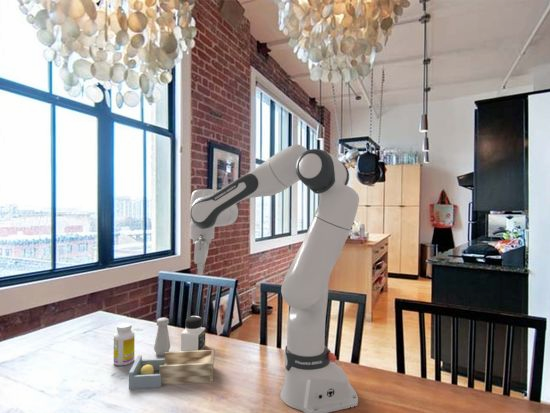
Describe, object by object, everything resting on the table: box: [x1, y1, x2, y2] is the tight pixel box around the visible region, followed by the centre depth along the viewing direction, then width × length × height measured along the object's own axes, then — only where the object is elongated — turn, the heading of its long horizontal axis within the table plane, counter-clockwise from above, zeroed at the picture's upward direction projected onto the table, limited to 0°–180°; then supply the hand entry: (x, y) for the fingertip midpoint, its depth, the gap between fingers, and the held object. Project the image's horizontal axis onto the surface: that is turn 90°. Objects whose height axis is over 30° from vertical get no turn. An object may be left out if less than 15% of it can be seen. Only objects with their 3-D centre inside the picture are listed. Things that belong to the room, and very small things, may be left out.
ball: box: [140, 365, 154, 375], centre depth 106 cm, size 4×4×4 cm
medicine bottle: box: [180, 315, 206, 351], centre depth 128 cm, size 7×7×12 cm
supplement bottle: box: [113, 322, 135, 366], centre depth 117 cm, size 7×7×13 cm
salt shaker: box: [153, 317, 171, 357], centre depth 124 cm, size 6×6×13 cm
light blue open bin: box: [128, 355, 165, 390], centre depth 106 cm, size 9×11×5 cm
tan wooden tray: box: [159, 349, 215, 386], centre depth 108 cm, size 16×10×6 cm, turn 99°
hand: (201, 272), depth 120 cm, fingers open, 8 cm apart
